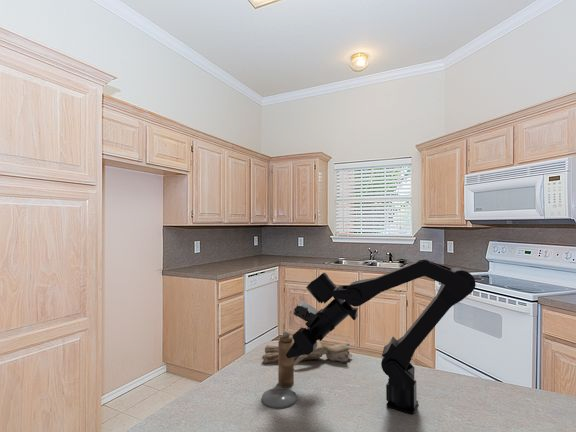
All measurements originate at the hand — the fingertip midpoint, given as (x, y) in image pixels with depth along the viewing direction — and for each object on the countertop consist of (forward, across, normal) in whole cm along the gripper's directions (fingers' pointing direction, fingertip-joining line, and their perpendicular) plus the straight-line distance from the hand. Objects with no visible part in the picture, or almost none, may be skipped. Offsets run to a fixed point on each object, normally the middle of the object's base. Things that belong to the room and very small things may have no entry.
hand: (292, 350), depth 94 cm
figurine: (+8, -20, +6) cm, 22 cm away
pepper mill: (+8, 0, +5) cm, 10 cm away
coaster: (+7, +8, +6) cm, 13 cm away
